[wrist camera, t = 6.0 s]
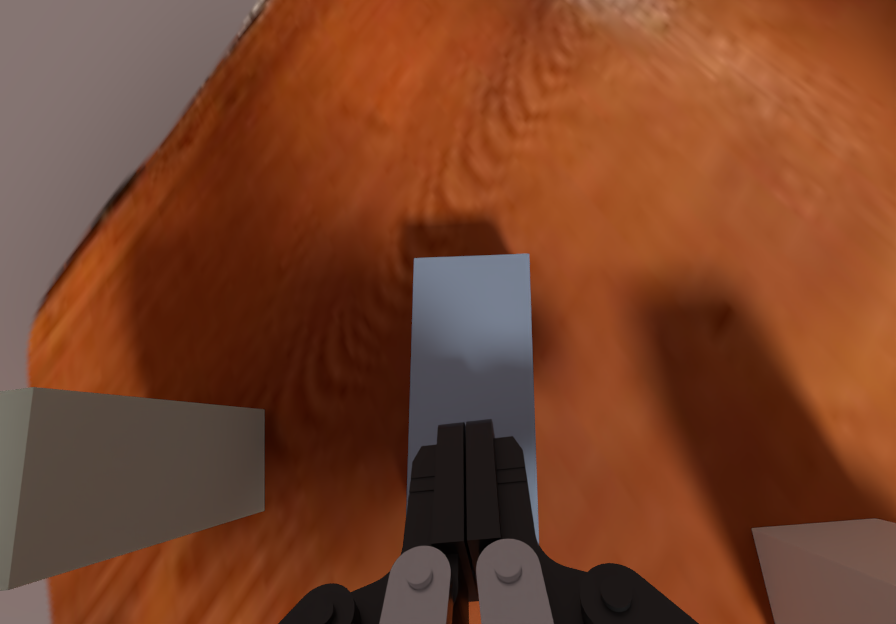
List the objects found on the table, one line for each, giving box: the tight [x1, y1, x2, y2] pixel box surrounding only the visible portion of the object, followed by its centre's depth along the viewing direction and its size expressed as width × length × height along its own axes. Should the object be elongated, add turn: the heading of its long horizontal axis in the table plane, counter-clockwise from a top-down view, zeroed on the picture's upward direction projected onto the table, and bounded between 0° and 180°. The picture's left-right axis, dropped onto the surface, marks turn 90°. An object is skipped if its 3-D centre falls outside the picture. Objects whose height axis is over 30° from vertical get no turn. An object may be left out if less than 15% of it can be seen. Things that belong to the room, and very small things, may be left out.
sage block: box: [0, 387, 265, 591], centre depth 15 cm, size 4×4×10 cm
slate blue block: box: [406, 254, 539, 544], centre depth 17 cm, size 4×4×10 cm
